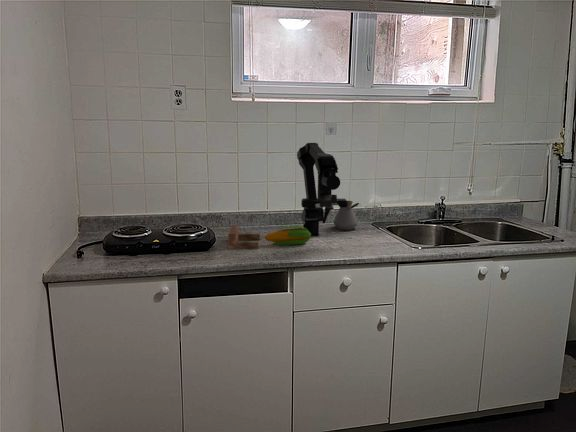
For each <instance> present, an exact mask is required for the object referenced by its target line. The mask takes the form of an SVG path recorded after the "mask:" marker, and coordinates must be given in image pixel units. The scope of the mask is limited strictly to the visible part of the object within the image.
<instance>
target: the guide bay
mask: <svg viewBox="0 0 576 432" xmlns="http://www.w3.org/2000/svg"><path fill="white" fill-rule="evenodd" d="M227 238H228V241H227V243H228V249H229V250H230V249H237V250H238V249H245V250H246V249H248V250H249V249H256V250H257V249H259V248H260V247H259V243H260V242H259V241H260V240H261V235H260V232H259V233H254V232H253V233H241V232H240V226H239V225H231V227H230V229H229V231H228V236H227Z"/></svg>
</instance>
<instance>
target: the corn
mask: <svg viewBox="0 0 576 432" xmlns="http://www.w3.org/2000/svg"><path fill="white" fill-rule="evenodd" d="M263 238H264V239H265V240H266V241H267V242H272V245H275V246H297V245H299V246H300V245H304V244H305V243H307V242H309V240H310V239H311V233H310V232H309V231H307V229H306V230H305V228H304V227H303V226H298V225H293V226H291V225H290V226H283V227H278V228H277V230H276V231H272V232H270V233H267V234H266V235H264V236H263Z"/></svg>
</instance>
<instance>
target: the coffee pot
mask: <svg viewBox="0 0 576 432" xmlns="http://www.w3.org/2000/svg"><path fill="white" fill-rule="evenodd" d="M347 202H348V207H339V208H338V211H337V213H336V216H335V218H334V220H333V225H334V226H335V227H337V229H338V230H341V231H351V230H354V228H356V227H358V224H359V221H358V220H357V217H356V214H355V211H354V209H353V208H358V207H361V204H360V203H359V202H356V203H354V202H353V201H352V200H347ZM353 203H354V204H353Z"/></svg>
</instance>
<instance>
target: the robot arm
mask: <svg viewBox="0 0 576 432" xmlns="http://www.w3.org/2000/svg"><path fill="white" fill-rule="evenodd" d="M296 159H297V160H298V165H299V166H300V167H301V169H302V171H303V180H304V189H305V197H306V198H305V197H304V198H303V197H302V199H301V204H300V205H301V207H302V208H303V210H302V212H301V215H300V218H301V221H302V222H303V223H302V227H304V228H305V230H306V229H307V231H309V232H310V233H311V236H314V237H315V236H317V237H318V236H320V233H319V231H320V230H319V229H320V222H322V224H326V221H327V219H328V216H329V214H330V212H331V211H332V210H334V208H335V207H334V206H338V207H339V208H340V207H348V202H347V201H348V200H347V199H346V198H338V195H337V194H332V193H333V192H332V191H335V190H337V189H339V187H340V185H341V179H340V177H339V176H337V174H338V173H339V171H338V170H339V167H338V164H337V161H336V158H335V157H334V156H333V155H332V154H329V153H326V152H325V151H324V150H323V148H321V147H320V146H319V144H318V143H317V142H307V143H305V145H303V146H301V147H299V149H298V151H297V152H296ZM314 166H315V168H316V171H317V186H316V178H315V169H314ZM316 187H317V188H316Z"/></svg>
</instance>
